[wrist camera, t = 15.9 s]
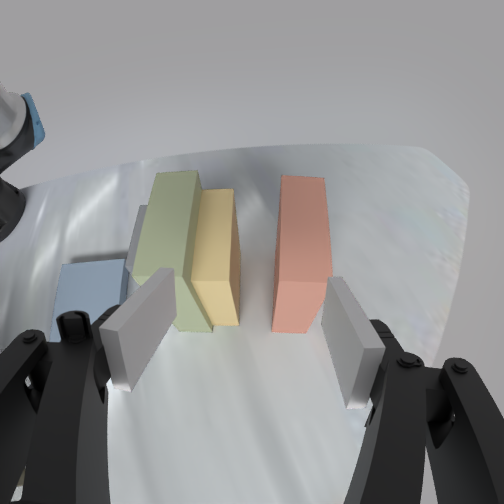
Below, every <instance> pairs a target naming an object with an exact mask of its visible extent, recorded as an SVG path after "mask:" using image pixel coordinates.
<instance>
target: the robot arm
mask: <svg viewBox="0 0 504 504" xmlns="http://www.w3.org/2000/svg"><path fill="white" fill-rule="evenodd" d="M44 137H45V132H44V128H43V126H42V123H41V121H40V118H39V115H38V112H37V110H36V107H35V105H34V102H33V99H32V97H31V95H30V93H25V94H22V95H21V96H20V95H18V94H16V93H13V92H7V91H6V89H5V88H4V87H3V85H2V84H1V82H0V174H1V173H2V172H3V171H4V170H5V169H7V168H8V167H9V166H11V165H12V164H13V163H14V162H15V161H17V160H18V159H19V158H21V157H22V156H23V155H25V154H26V153H27V152H29V151H30V150H33V149H34V148H35V147H36V146H37V145H38V144H39V143H40V142H42V141H43V139H44ZM24 207H25V198H24V196H23V194H22V193H21V192H20V190H19V189H17V188H16V187H14V186H13V185H11V184H9V183H8V182H6V181H4V180H3V179H2V178H1V177H0V242H1V241H2V240H3V239H5V238H6V237H7V236H8V235H9V234H10V233H11V231H12V230H13V229H14V228H15V226H16V225H17V223H18V221H19V220H20V218H21V216H22V213H23V210H24ZM176 316H177V310H176V294H175V275H174V268H164V267H160V268H159V269H158V270H157V271H156V272H155V273H154V274H153V275H152V276H151V277H150V278H149V279H148V280H147V281H146V282H145V283H144V284H143V285H141V286H140V287H139V288H138V289H137V290H136V291H135V292H134V293H133V294H132V295H131V296H130V297H129V298H128V299H127V300H126V301H125V302H124V303H123V304H122V305H119V304H117V305H114V306H112V307H110V308H108V309H107V310H106V311H105V312H104V313H103V314H102V315H101V316H100V317H99V318H98V320H95V321H94V322H93V323H92V324H91V323H90V318H89V314H88V313H86V312H84V311H79V310H74V311H68V312H65V313H62V314H61V315H59V316H58V317H57V318H56V322H57V326H58V330H59V334H60V337H61V340H60V342H46V338H45V335H44V333H43V332H42V331H39V330H33V329H32V330H26V331H25V332H23V333H21V334H20V335H18V336H17V337H16V338H15V339H14V340H13V341H12V342H11V344H10V345H9V346H8V347H7V348H6V349H5V350H4V351H3V352H2V353H1V354H0V504H110V493H109V478H108V455H107V414H108V389H107V386H106V383H107V382H108V380H109V379H110V377H111V380H112V384H113V387H114V389H118V390H123V391H127V392H132V390H133V389H134V387H135V385H136V383H137V382H138V380H139V378H140V376H141V375H142V373H143V371H144V370H145V368H146V366H147V364H148V363H149V361H150V359H151V358H152V356H153V354H154V353H155V351H156V349H157V348H158V346H159V344H160V342H161V341H162V339H163V337H164V336H165V334H166V332H167V331H168V329H169V327H170V326H171V324H172V322H173V321H174V319H175V318H176ZM321 325H322V328H323V331H324V335H325V338H326V341H327V344H328V348H329V351H330V354H331V358H332V361H333V364H334V368H335V371H336V375H337V378H338V382H339V385H340V389H341V392H342V396H343V399H344V403H345V406H346V409H359V408H366V406H367V403H368V400H369V398H371V400H372V403H373V406H372V409H371V411H370V414H369V416H368V419H367V421H366V424H365V426H364V427H366V431H365V435H364V439H363V443H362V447H361V450H360V454H359V458H358V461H357V464H356V468H355V471H354V474H353V477H352V481H351V484H350V487H349V490H348V493H347V495H346V498H345V501H344V504H420V500H421V492H422V484H423V474H424V462H425V446H426V448H427V452H428V457H429V461H430V466H431V470H432V475H433V480H434V485H435V490H436V495H437V501H438V504H504V418H503V416H502V415H501V413H500V411H499V409H498V407H497V405H496V403H495V402H494V400H493V398H492V396H491V395H490V393H489V392H488V389H487V388H486V386H485V384H484V383H483V381H482V379H481V378H480V376H479V374H478V373H477V371H476V370H475V368H474V367H473V365H472V364H471V363H469V362H468V361H466V360H465V359H462V358H449V359H447V360H446V361H445V363H444V365H443V368H442V369H438V368H430V367H424V363H423V360H422V359H421V358H420V357H418V356H416V355H415V354H412V353H408V352H404V350H403V349H402V347H401V346H400V344H399V343H398V341H397V340H396V338H394V335H393V334H392V333H391V331H390V329H389V328H388V326H387V325H386V324H384V323H383V322H381V321H380V320H369V319H368V317H367V316H366V314H365V313H364V311H363V309H362V308H361V306H360V304H359V303H358V301H357V300H356V298H355V297H354V295H353V293H352V292H351V290H350V289H349V287H348V286H347V284H346V282H345V281H344V279H343V278H342V277H328V279H327V287H326V295H325V302H324V309H323V316H322V322H321ZM27 376H28V377H29V379H30V382H31V384H30V386H29V387H27V385H26V383H25V379H26V378H27ZM454 414H455V417H454ZM25 466H26V470H25V476H24V483H23V491H22V497H21V499H20V500H19V501H13V502H11V499H12V496H13V494H14V491H15V489H16V487H17V484H18V482H19V479H20V477H21V475H22V473H23V470H24V468H25Z"/></svg>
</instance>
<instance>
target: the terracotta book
mask: <svg viewBox="0 0 504 504" xmlns="http://www.w3.org/2000/svg"><path fill="white" fill-rule="evenodd" d="M328 277H333V275H332V258H331V244H330V232H329V220H328V210H327V200H326V191H325V182H324V178H317V177H303V176H286V175H281V189H280V202H279V215H278V227H277V239H276V251H275V274H274V297H273V318H272V332H279V333H306V332H307V331H308V329H309V327H310V325H311V323H312V322H313V320H314V318H315V316H316V314H317V312H318V311H319V309H320V307H321V305H322V303H323V301H324V299H325V295H326V287H327V279H328Z"/></svg>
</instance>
